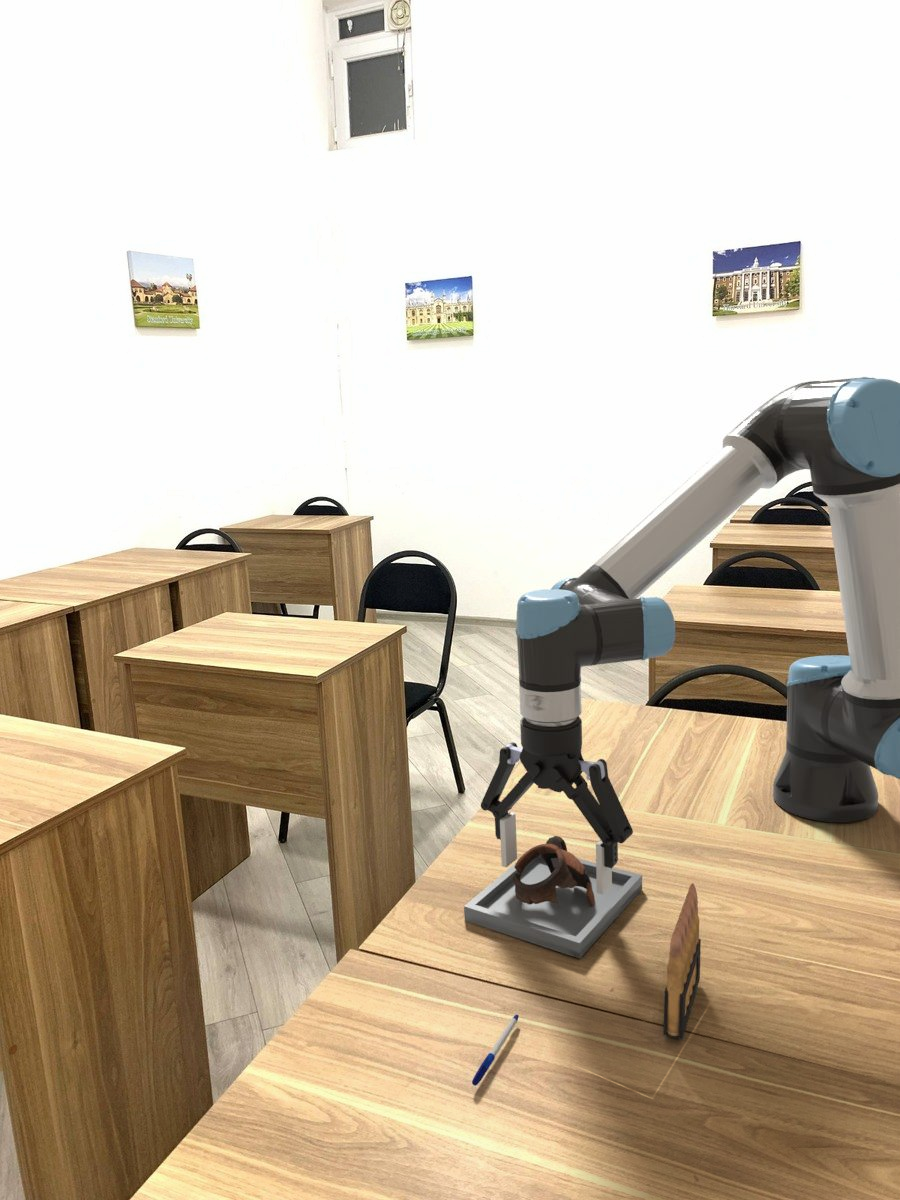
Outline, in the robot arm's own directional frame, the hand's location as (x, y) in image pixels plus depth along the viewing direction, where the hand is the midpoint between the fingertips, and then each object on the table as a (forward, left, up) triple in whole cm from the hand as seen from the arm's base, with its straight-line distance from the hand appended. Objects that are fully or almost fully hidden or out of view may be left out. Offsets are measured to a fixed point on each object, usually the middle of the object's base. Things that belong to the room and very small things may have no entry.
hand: (555, 875), depth 117 cm
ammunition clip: (-21, +11, -4) cm, 24 cm away
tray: (0, 0, -4) cm, 4 cm away
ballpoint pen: (-8, +27, -5) cm, 29 cm away
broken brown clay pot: (0, 0, -3) cm, 3 cm away
